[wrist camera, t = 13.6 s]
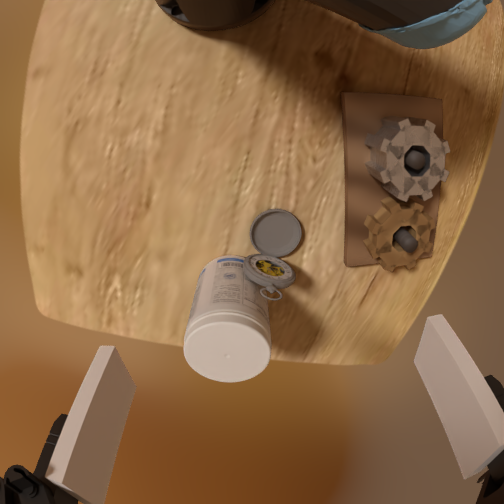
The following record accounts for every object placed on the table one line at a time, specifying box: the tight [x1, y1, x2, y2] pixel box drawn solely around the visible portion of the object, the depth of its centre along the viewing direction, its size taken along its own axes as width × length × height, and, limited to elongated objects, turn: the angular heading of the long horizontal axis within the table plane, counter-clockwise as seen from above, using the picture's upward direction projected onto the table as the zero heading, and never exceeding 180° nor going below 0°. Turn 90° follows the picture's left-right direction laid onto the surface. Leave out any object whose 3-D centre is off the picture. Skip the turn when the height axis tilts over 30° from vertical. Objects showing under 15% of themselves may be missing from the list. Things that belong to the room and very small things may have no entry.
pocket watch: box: [243, 209, 302, 300], centre depth 36 cm, size 8×8×10 cm
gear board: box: [341, 92, 443, 272], centre depth 34 cm, size 23×14×6 cm, turn 6°
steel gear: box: [364, 115, 450, 202], centre depth 32 cm, size 10×10×5 cm
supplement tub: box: [184, 255, 271, 382], centre depth 37 cm, size 10×10×15 cm
